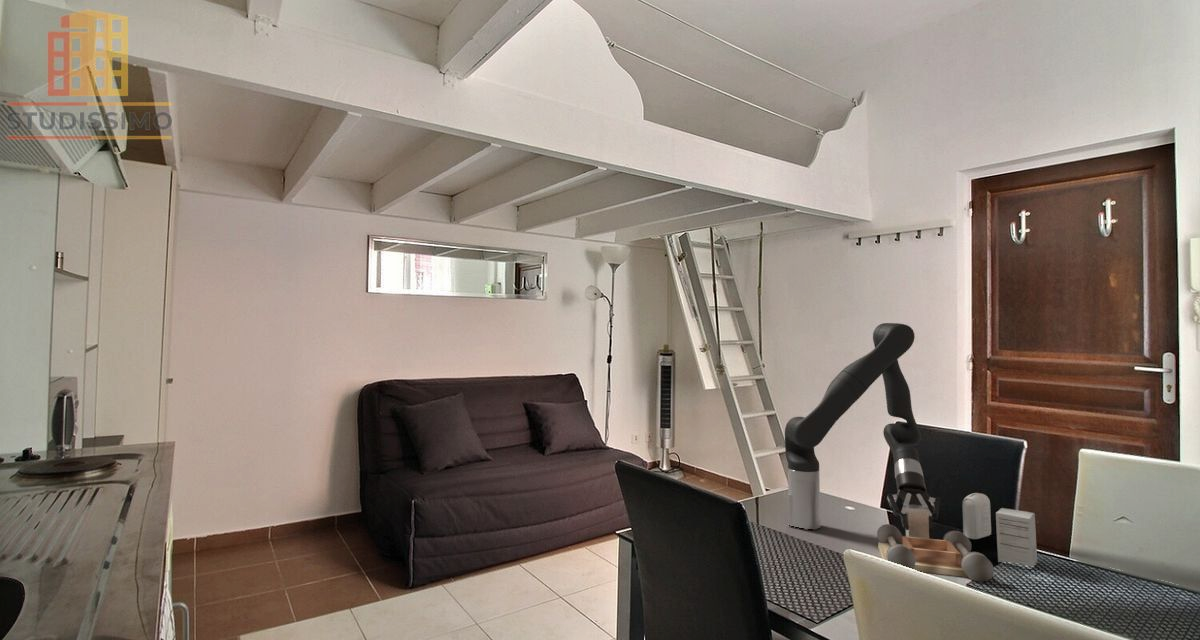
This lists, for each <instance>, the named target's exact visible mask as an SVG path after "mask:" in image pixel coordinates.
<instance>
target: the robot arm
mask: <svg viewBox="0 0 1200 640" xmlns="http://www.w3.org/2000/svg"><path fill="white" fill-rule="evenodd" d="M874 328H875V329H874V330H873V333H872V342H873V345H874V348H873V349H872V350H871V351H870V352H868V353H867V354H865V355H864V356H862V357H859V358H858V359H856V360H855V361H853V362H851V363H850V364H848V365H846V366H845V367H844V368H843V369H842V370H841V371H840V372H839V373H837V375H836V376H835V377H834V378H833V379H832V381H831V382H830V383H829V385H828V387H827V388H826V391H825V393H824V396H823V397H822V400H821V401H820V402H819V404H818V405H817V406H816V407H815V408H814V409H813V410H812V411H811V412H810V413H809V414H808V415H806V416H805V417H804V416H794V417H792V418H790V419H789V420H788V421H787V423H786V425H785V428H784V447H785V457H786V462H787V473H788V474H787V475H788V477H787V479H788V480H787V481H788V482H787V483H788V484H787V485H788V486H787V487H788V488H787V490H788V495H787V499H788V500H787V501H788V502H787V504H788V509H787V510H788V515H787V516H788V526H789V525H794V526H796V527H799V528H804V529H803V530H808V529H813V530H817V529H818V528H819V529H820V528H821V494H820V493H821V491H820V490H821V489H820V488H821V487H820V480H821V479H820V462H819V460H818V458H817V455H816V453H815V447H817V446H818V445H819V444H820V443H821V442H822V441H823V440H824V438H825V437H826V435H827V434H828V433H829V431H830V430H831V429H832V428H833V426H834V425H835V424H836V422H838V420H839V419H840V418H841V417H842V416H843V415H844V414H846V412H847V411H848V410H849V409H850V408H851V407H852V406H853V405H854V404H855V403H856V402H857V401H858V400H859V399H860V398H861V396H863V395H864V394H865V393H866V392H867V390H868V389H869V388H870V387H871V386H872V384H873V383H874V382H876V380H877V379H879V377H881V376H882V379H883V385H884V389H885V390H884V391H885V400H886V408H887V410H886V411H887V413H888V415H889V416H890V417H894V418H898V419H899V418H900V419H903V420H904V421H906V422H900V423H899V422H898V423H896V422H895V423H894V422H893V423H888V424H886V425H885V426H884V428H883V430H882V431H883V433H882V434H883V437H884V439H885V442H886V443H887V446H888V447H889V449H890V452H891V454H892V457H893V464H894V478H895V482H896V489H897V492H896V493H895V494H892V493H887V497H886V501H887V502H888V504H889V507H890V510H891V511H892V512H891V513H892V514H893V516H895V517H900V519H901V520H900V521H901V525H902V528H903V529H904V530H905V531H906V530H908V528H909V525H908V519H907V515H906V505H909V504H913V505H922V506H926V508H927V509H928V515H929V533H931V532H932V531H933V530H934V522H933V520H938V519H939V514H940V508H941V507H940V506H941V505H940V504H941V498H940V497H939V496H936V497H932V496H930V495H929V494H928V493H927V488H926V483H925V478H924V473H923V469H922V466H921V462H920V457H919V453H918V452H919V451H918V450H917V448H916V447H915V446H917V445H919V444H920V442H921V441H922V432H921V430H920V428H919V426H918V424H917V421H916V419H915V416H914V413H913V408H912V400H911V399H912V397H911V392H910V387H909V384H908V383H907V380H906V378H905V376H904V374H903V372H902V369H901V367H900V363H899V359H900V358H901V357H902V356H903V355H904V354H905V353H906V352H908V351H909V350H910V349H911V347H912V346H913V344H914V342H915V337H916V336H915V331H914V329H913V328H912V327H911V326H910V325H907V324H905V323H900V322H899V323H895V322H883V323H880V324H879V325H877V326H876V327H874ZM897 500H898V501H899V502H900V503H901V504H902V508H901V509H899V507H898V505H897ZM929 502H930V504H931V506H932V507H933V511H932V512H931V510H930V509H929V506H928V503H929ZM799 528H798V529H799Z"/></svg>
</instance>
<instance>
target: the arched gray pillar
mask: <svg viewBox="0 0 1200 640" xmlns="http://www.w3.org/2000/svg"><path fill="white" fill-rule="evenodd" d="M991 521H992V519H991V501H990V498H989V497H988V496H987V495H986V494H984V493H979V492H974V493H973V492H972V493H970V494H968V495H967V496H965V497H964V498H963V500H962V530H963V532H962V533H963V534H964V535H965V536H966V537H967V538H968V539H969V540H970V539H971V540H979V539H982V538H986V537H989V536H990V535H992V522H991Z"/></svg>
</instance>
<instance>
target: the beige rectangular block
mask: <svg viewBox="0 0 1200 640" xmlns="http://www.w3.org/2000/svg"><path fill="white" fill-rule="evenodd" d="M928 509H929V508H928ZM928 509H927V508H926V506H922V505H913V504H909V505H906V515H907V519H908V525H909V528H908V530H905V536H908V537H918V538H928V539H930V532H929V515H928Z"/></svg>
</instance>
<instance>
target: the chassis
mask: <svg viewBox="0 0 1200 640" xmlns="http://www.w3.org/2000/svg"><path fill="white" fill-rule="evenodd" d="M876 535H877V536H876V537H877V538H878V541H879V542H878V543H877V544H878V550H879V553H880V555H881V557H882V560H883V559H885V560H888V561H891V562H894V563H897V564H901V565H903V566H906V567H909V568H912V569H915V570H918V571H917V572H920V571H922V572H923V573H928V574H929V573H931V574H936V575H937V574H938V575H944V576H945V575H948V576H954V577H964V578H969V579H971V580H972V581H974V582H976V583H977V582H978V583H983V581H985V582H988V581H989V579H991V580H992V577H993V576H994V572H995V570H994V569H995V568H994V565H993V563H992V562H991V561H990V559H988V558H987V556H985V555H984V554H983V553H980V552H977V551H971V550H972V542H971V541H970V538H967V537H966V536H965V535H964V533H963V532H961V531H959V530H950V531H947V532H946V533H945V534H944V536H943V539H935V538H929V539H928V538H918V537H908V536H906V535H903V534H902V533H901V531H900V529H899V528H897V526H895V525H892V524H891V523H890V524H889V523H886V524H883V525H880V526H879V528H878V529H877V531H876ZM922 572H921V573H922Z"/></svg>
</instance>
